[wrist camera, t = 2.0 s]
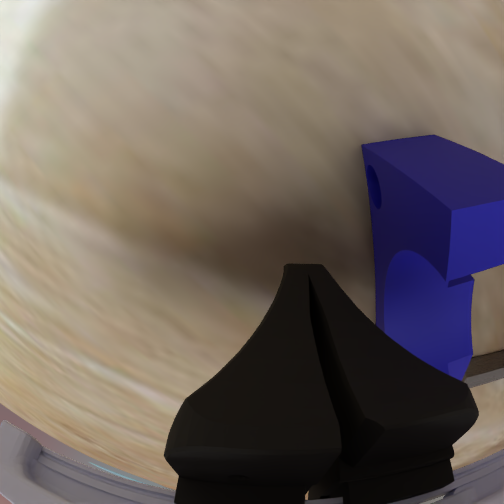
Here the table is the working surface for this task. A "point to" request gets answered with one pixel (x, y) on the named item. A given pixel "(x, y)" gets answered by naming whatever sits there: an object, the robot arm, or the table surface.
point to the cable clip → (432, 241)
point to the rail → (484, 369)
